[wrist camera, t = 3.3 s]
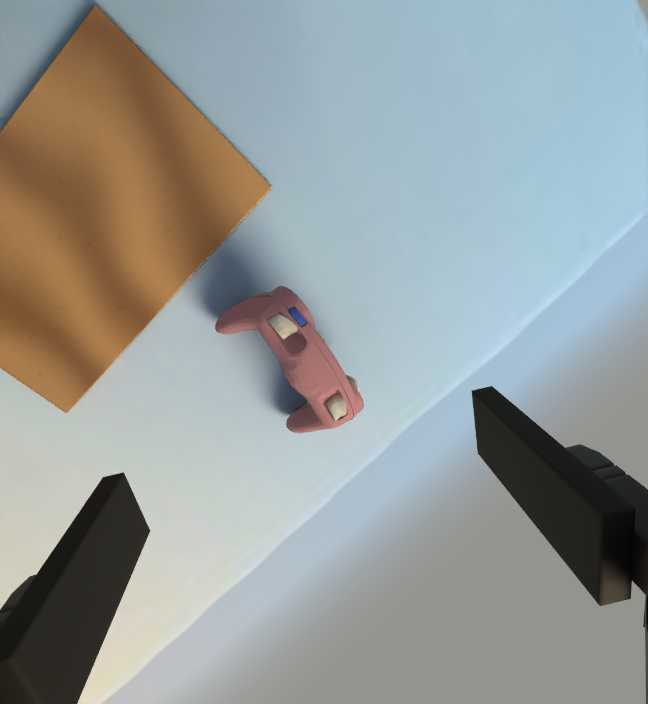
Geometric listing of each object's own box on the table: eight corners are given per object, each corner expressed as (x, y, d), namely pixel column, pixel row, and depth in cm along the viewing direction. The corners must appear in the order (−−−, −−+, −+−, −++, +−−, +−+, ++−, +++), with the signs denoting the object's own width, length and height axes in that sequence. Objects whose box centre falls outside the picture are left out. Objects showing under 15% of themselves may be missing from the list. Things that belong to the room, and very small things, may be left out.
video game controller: (333, 393, 31) (390, 410, 25) (288, 433, 29) (336, 462, 23) (260, 281, 28) (304, 268, 22) (205, 320, 26) (235, 318, 20)
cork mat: (70, 410, 28) (66, 413, 27) (-110, 286, 24) (-117, 288, 24) (272, 187, 25) (272, 186, 24) (99, 7, 21) (95, 3, 21)
